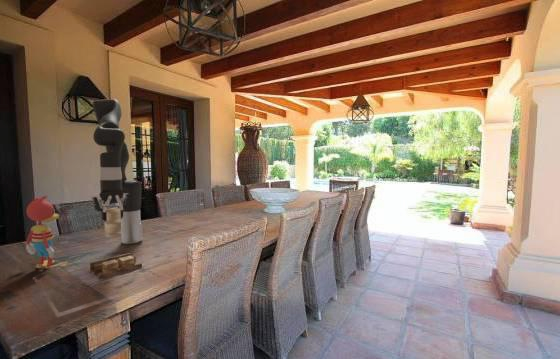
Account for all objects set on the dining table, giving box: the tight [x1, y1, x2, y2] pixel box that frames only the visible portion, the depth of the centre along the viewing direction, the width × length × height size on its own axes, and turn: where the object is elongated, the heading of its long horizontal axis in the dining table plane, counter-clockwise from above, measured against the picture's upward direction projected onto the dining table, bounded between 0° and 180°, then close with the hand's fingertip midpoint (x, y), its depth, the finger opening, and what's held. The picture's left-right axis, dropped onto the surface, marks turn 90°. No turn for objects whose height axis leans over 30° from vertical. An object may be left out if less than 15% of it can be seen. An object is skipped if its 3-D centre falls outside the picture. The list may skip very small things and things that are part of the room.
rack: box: [88, 252, 144, 280], centre depth 113 cm, size 16×13×4 cm
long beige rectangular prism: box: [103, 206, 122, 238], centre depth 114 cm, size 5×3×11 cm, turn 140°
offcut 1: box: [102, 259, 119, 273], centre depth 109 cm, size 4×4×4 cm
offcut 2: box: [119, 255, 135, 268], centre depth 113 cm, size 4×4×4 cm
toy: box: [25, 195, 69, 269], centre depth 114 cm, size 15×10×30 cm
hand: (112, 219), depth 113 cm, fingers closed on long beige rectangular prism, 5 cm apart
